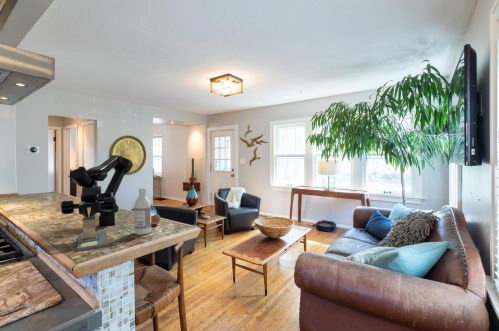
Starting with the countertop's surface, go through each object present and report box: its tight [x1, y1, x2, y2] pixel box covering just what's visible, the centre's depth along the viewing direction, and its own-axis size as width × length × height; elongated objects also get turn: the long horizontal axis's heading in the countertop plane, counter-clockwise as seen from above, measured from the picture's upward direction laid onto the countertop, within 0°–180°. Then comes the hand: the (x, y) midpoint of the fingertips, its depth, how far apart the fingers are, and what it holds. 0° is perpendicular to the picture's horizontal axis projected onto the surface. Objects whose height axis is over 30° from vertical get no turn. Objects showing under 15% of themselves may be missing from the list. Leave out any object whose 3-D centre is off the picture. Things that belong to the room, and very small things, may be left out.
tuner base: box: [76, 230, 109, 252], centre depth 98 cm, size 20×10×4 cm, turn 32°
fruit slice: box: [151, 214, 161, 227], centre depth 121 cm, size 8×7×5 cm
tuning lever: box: [82, 215, 96, 240], centre depth 96 cm, size 2×4×9 cm, turn 122°
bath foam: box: [133, 187, 152, 236], centre depth 109 cm, size 7×7×20 cm
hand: (88, 222), depth 98 cm, fingers closed
